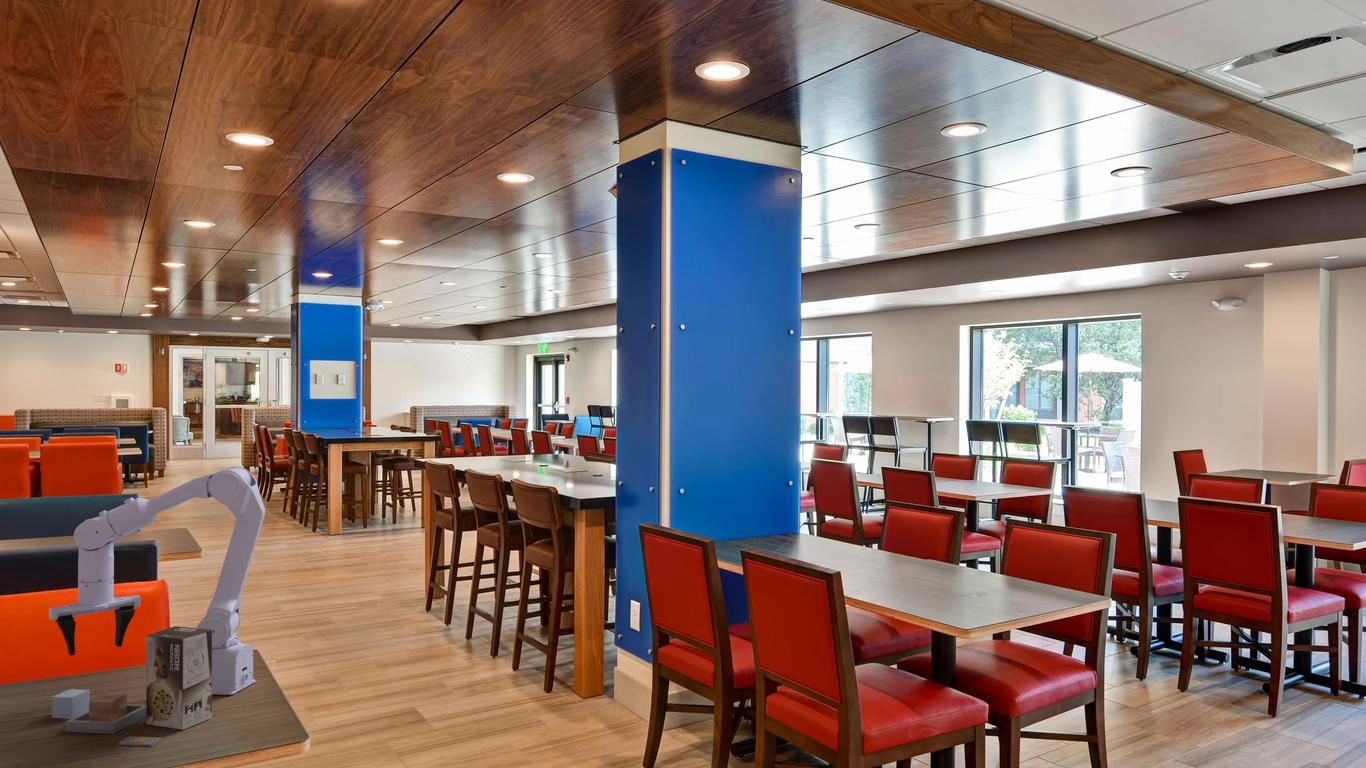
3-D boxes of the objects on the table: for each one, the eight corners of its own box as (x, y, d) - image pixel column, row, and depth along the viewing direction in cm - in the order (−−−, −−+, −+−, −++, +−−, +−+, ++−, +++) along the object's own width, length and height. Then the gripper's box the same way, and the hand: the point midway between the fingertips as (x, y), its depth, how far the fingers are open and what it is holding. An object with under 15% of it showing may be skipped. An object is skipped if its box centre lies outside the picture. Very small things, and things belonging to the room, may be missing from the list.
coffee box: (213, 718, 155) (214, 629, 155) (182, 731, 149) (183, 638, 149) (176, 711, 158) (176, 624, 158) (143, 724, 152) (144, 633, 152)
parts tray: (150, 714, 157) (150, 704, 157) (112, 733, 148) (113, 723, 148) (104, 712, 158) (105, 703, 158) (65, 731, 149) (65, 721, 149)
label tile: (162, 740, 145) (162, 737, 145) (151, 746, 143) (151, 743, 143) (129, 738, 146) (129, 735, 146) (118, 744, 143) (118, 741, 143)
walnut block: (105, 715, 155) (106, 693, 155) (126, 716, 155) (126, 694, 155) (88, 723, 151) (89, 701, 151) (110, 724, 151) (110, 701, 151)
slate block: (89, 711, 159) (89, 689, 159) (72, 719, 155) (72, 697, 155) (69, 710, 159) (69, 689, 159) (51, 718, 155) (52, 696, 155)
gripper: (54, 589, 157) (53, 662, 157) (144, 577, 168) (144, 646, 167) (46, 583, 162) (46, 654, 162) (134, 571, 173) (134, 639, 172)
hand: (95, 650), depth 165 cm, fingers open, 7 cm apart
